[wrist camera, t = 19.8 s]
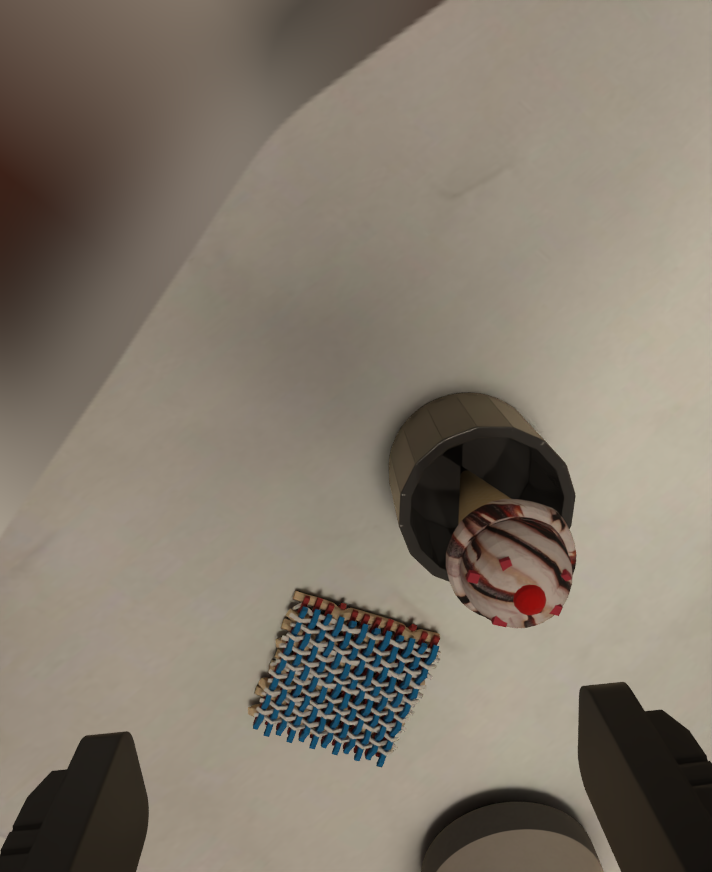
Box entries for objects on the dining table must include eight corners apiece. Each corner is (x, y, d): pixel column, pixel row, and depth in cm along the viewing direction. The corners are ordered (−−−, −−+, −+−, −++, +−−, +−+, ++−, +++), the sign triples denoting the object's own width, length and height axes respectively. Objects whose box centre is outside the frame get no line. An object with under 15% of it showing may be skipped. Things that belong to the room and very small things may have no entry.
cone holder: (366, 425, 40) (373, 465, 34) (512, 369, 39) (547, 400, 33) (417, 551, 43) (432, 609, 36) (554, 501, 42) (593, 553, 36)
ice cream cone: (523, 435, 40) (632, 563, 25) (491, 520, 41) (577, 685, 27) (430, 410, 39) (490, 529, 25) (402, 499, 41) (442, 656, 26)
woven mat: (447, 627, 44) (452, 646, 43) (387, 749, 48) (390, 772, 46) (296, 581, 43) (295, 598, 41) (245, 710, 46) (241, 732, 44)
